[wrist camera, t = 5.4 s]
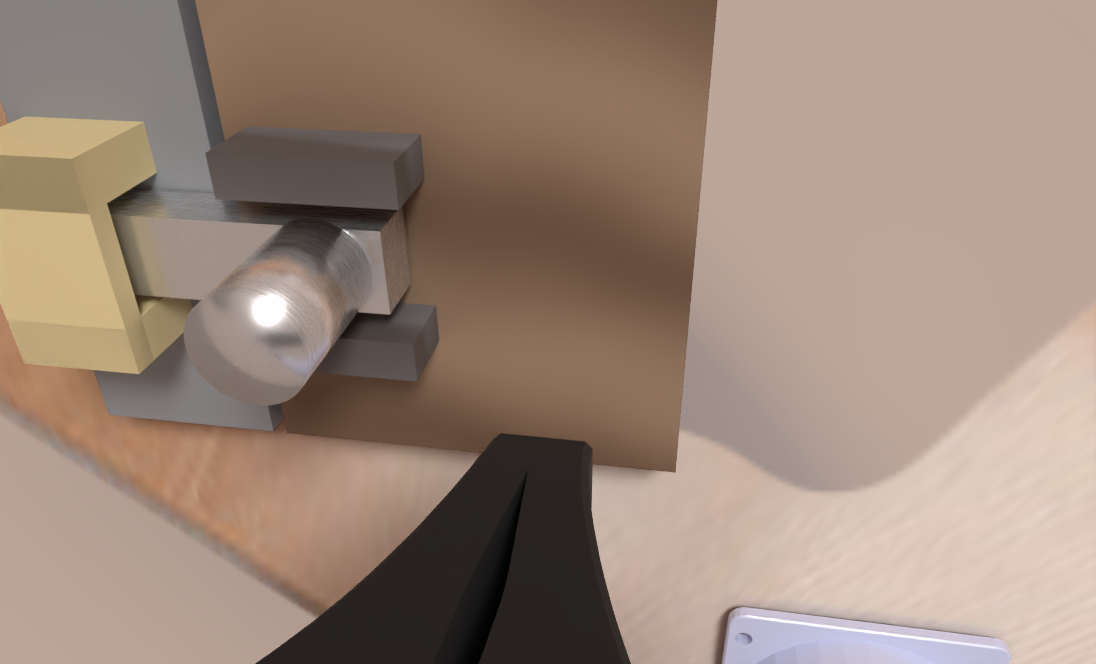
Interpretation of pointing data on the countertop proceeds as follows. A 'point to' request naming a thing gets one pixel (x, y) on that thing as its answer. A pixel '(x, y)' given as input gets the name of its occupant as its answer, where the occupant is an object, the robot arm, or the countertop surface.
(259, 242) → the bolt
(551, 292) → the door panel
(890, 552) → the countertop surface
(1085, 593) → the countertop surface
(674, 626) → the countertop surface
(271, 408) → the jamb keeper
